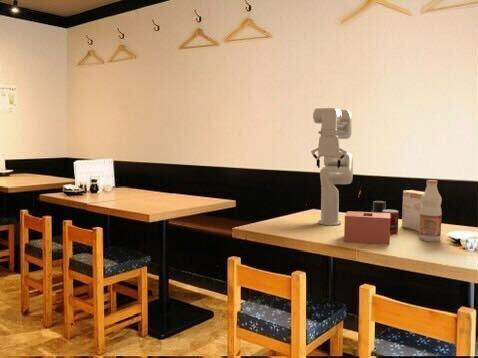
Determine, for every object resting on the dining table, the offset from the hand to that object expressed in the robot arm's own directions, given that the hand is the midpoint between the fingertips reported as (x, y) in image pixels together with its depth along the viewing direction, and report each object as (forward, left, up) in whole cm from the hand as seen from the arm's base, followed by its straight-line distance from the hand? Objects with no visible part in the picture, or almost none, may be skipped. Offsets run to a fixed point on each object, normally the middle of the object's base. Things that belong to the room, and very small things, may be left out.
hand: (328, 167), depth 241 cm
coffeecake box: (-25, +43, -33) cm, 60 cm away
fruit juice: (+1, +48, -33) cm, 58 cm away
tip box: (+11, +20, -33) cm, 40 cm away
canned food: (-11, +30, -33) cm, 46 cm away
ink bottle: (-35, +24, -33) cm, 54 cm away
